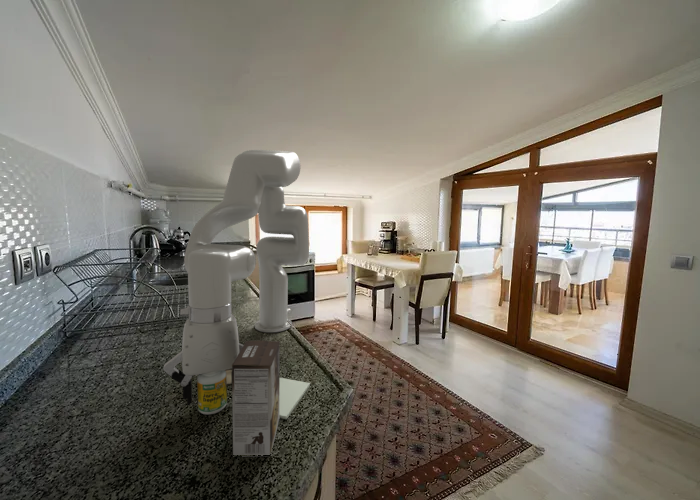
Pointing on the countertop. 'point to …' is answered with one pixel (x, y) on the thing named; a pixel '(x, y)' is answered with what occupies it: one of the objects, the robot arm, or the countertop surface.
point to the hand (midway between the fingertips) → (212, 395)
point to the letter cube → (228, 376)
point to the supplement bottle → (212, 392)
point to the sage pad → (290, 395)
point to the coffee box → (256, 397)
